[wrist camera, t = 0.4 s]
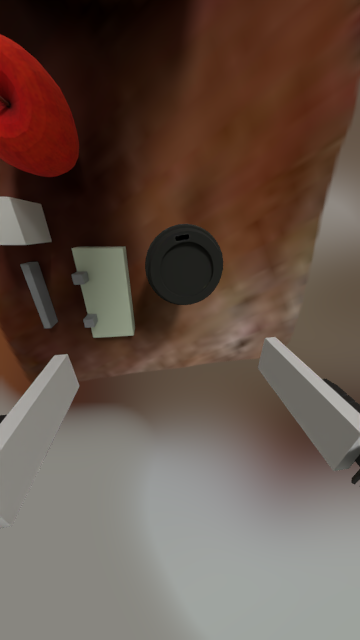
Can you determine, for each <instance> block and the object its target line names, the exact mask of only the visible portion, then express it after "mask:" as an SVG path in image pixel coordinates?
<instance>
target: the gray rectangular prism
mask: <svg viewBox="0 0 360 640" xmlns="http://www.w3.org/2000/svg"><path fill="white" fill-rule="evenodd" d="M47 242H52V240H51V237H50V233H49V230H48V226H47V223H46V219H45V216H44V212H43V209H42V206H41V204H39V203H34V202H30V201H25V200H21V199H16V198H12V197H0V245H30V244H38V243H47Z"/></svg>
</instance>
